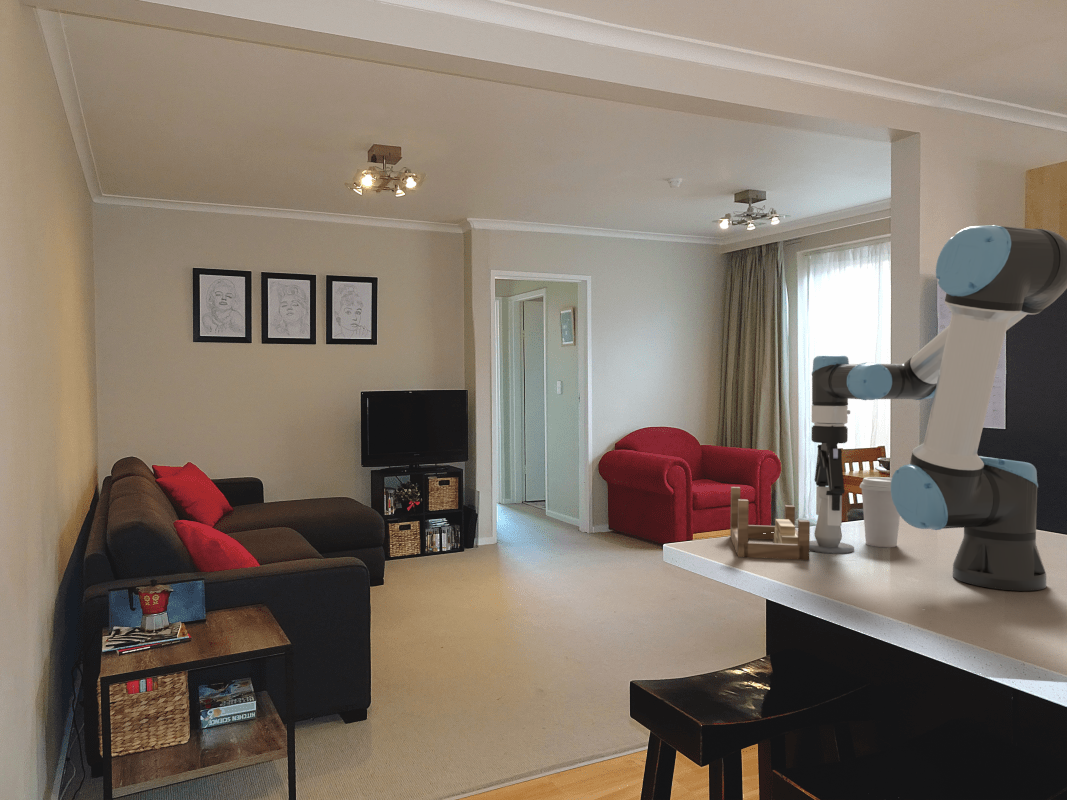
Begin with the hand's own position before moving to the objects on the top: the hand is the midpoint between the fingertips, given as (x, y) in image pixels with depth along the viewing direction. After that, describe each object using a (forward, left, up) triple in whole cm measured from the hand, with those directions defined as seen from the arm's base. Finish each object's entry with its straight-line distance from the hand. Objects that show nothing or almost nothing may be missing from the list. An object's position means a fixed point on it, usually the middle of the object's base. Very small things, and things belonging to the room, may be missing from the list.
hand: (828, 520), depth 175 cm
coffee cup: (+7, -13, -7) cm, 16 cm away
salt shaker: (0, 0, -6) cm, 6 cm away
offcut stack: (-2, +9, -6) cm, 11 cm away
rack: (-2, +13, -6) cm, 15 cm away
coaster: (0, 0, -6) cm, 6 cm away
